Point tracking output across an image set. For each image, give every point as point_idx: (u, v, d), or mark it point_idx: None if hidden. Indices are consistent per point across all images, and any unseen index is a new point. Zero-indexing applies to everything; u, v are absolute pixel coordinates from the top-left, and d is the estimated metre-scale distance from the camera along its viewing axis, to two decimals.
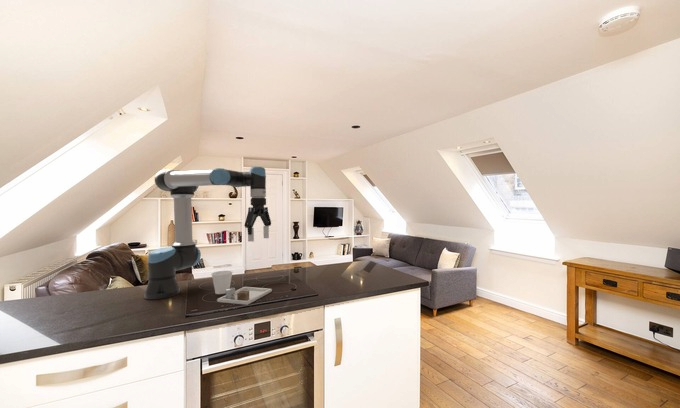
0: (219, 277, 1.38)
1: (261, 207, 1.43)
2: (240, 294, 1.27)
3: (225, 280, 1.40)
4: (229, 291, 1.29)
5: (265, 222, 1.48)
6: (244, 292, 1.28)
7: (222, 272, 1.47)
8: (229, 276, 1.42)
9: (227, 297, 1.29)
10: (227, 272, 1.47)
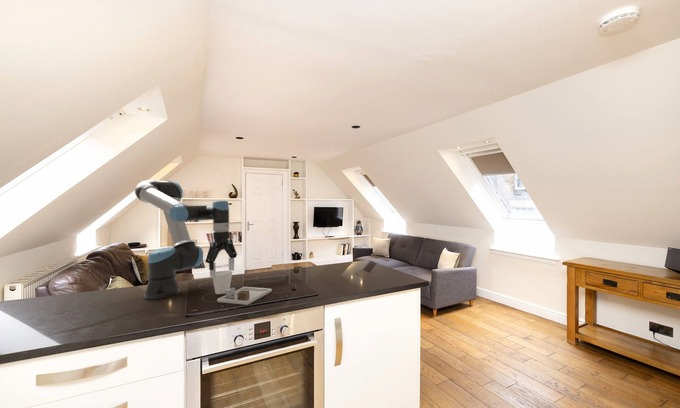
0: (219, 277, 1.38)
1: (224, 240, 1.44)
2: (240, 294, 1.27)
3: (225, 280, 1.40)
4: (229, 291, 1.29)
5: (230, 254, 1.48)
6: (244, 292, 1.28)
7: (222, 272, 1.47)
8: (229, 276, 1.42)
9: (227, 297, 1.29)
10: (227, 272, 1.47)
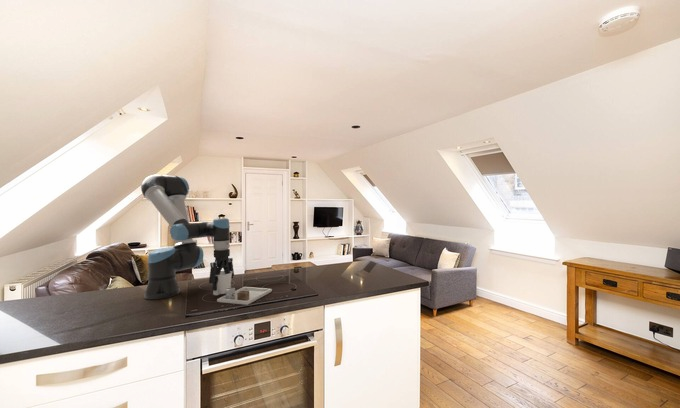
0: (219, 277, 1.38)
1: (225, 257, 1.44)
2: (240, 294, 1.27)
3: (225, 280, 1.40)
4: (229, 291, 1.29)
5: None
6: (244, 292, 1.28)
7: (222, 272, 1.47)
8: (229, 276, 1.42)
9: (227, 297, 1.29)
10: None
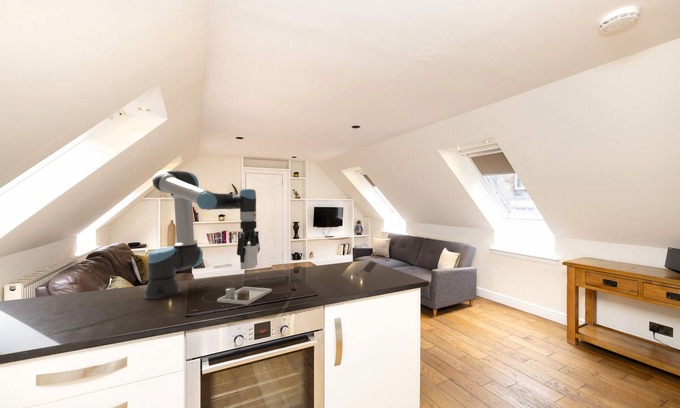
0: (246, 249, 1.34)
1: (252, 229, 1.39)
2: (240, 294, 1.27)
3: (252, 252, 1.35)
4: (229, 291, 1.29)
5: None
6: (244, 292, 1.28)
7: (248, 245, 1.43)
8: (256, 248, 1.37)
9: (227, 297, 1.29)
10: None
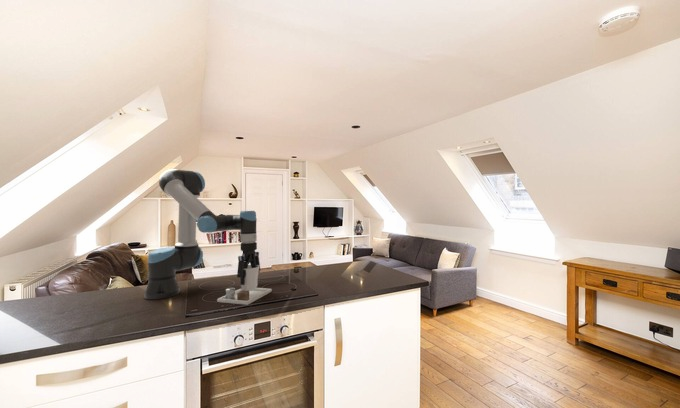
0: (247, 271, 1.34)
1: (252, 250, 1.39)
2: (240, 294, 1.27)
3: (252, 274, 1.35)
4: (229, 291, 1.29)
5: None
6: (244, 292, 1.28)
7: (248, 266, 1.43)
8: (257, 270, 1.37)
9: (227, 297, 1.29)
10: None
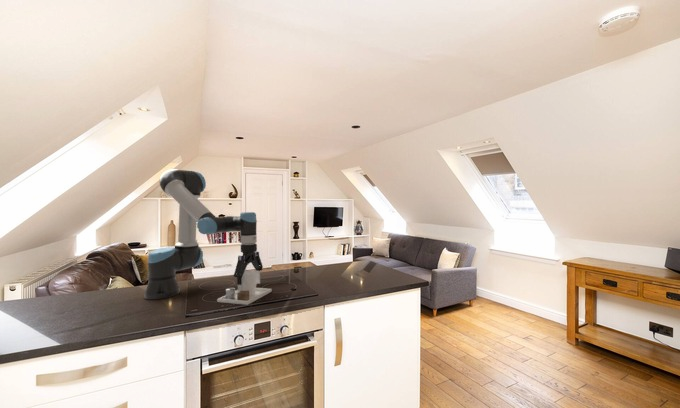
0: (245, 277, 1.32)
1: (252, 253, 1.39)
2: (240, 294, 1.27)
3: (251, 280, 1.34)
4: (229, 291, 1.29)
5: (256, 267, 1.44)
6: (244, 292, 1.28)
7: (247, 271, 1.41)
8: (256, 276, 1.36)
9: (227, 297, 1.29)
10: (253, 272, 1.41)
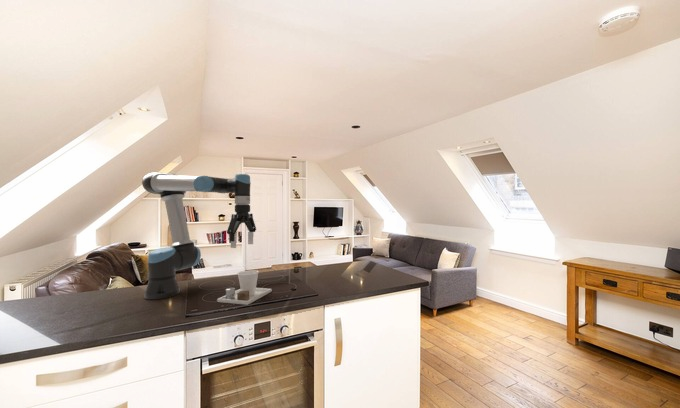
0: (245, 277, 1.32)
1: (245, 214, 1.45)
2: (240, 294, 1.27)
3: (251, 280, 1.34)
4: (229, 291, 1.29)
5: (250, 228, 1.50)
6: (244, 292, 1.28)
7: (247, 271, 1.41)
8: (256, 276, 1.36)
9: (227, 297, 1.29)
10: (253, 272, 1.41)
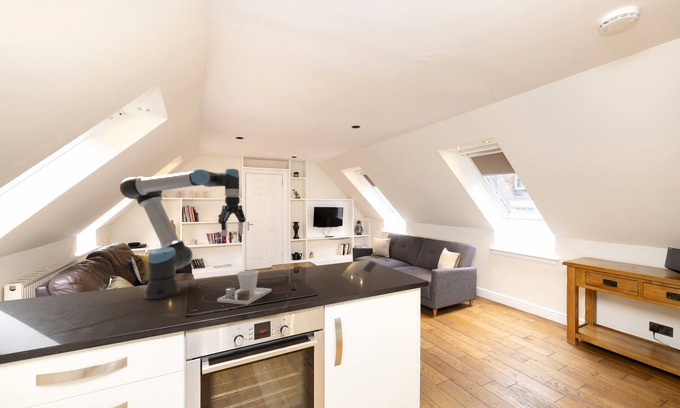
0: (245, 277, 1.32)
1: (235, 205, 1.58)
2: (240, 294, 1.27)
3: (251, 280, 1.34)
4: (229, 291, 1.29)
5: (239, 219, 1.63)
6: (244, 292, 1.28)
7: (247, 271, 1.41)
8: (256, 276, 1.36)
9: (227, 297, 1.29)
10: (253, 272, 1.41)
